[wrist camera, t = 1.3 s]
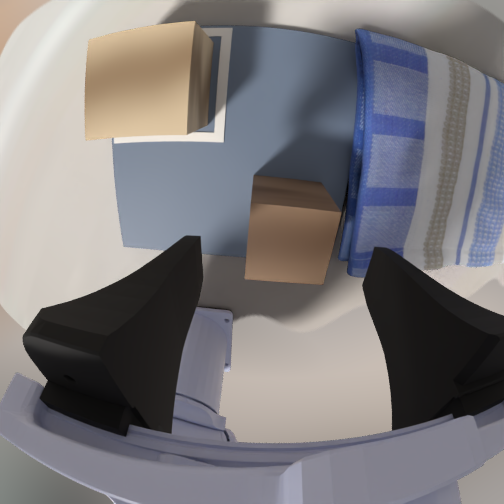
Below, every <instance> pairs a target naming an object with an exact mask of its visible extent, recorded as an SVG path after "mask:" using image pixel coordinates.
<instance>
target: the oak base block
mask: <svg viewBox="0 0 504 504" xmlns="http://www.w3.org/2000/svg"><path fill="white" fill-rule="evenodd" d="M213 45H214V42H213V41H212V40H211V39H210V38H209V36H208V35H207V34H206V33H205V32H204V31H203V30H202V28H201V27H200V26H199V25H198V24H197V23H196V22H195V21H188V22H176V23H167V24H160V25H153V26H147V27H141V28H135V29H130V30H126V31H121V32H117V33H112V34H108V35H105V36H101V37H97V38H94V39H90V40H89V42H88V51H87V62H86V77H85V138H86V141H87V140H96V139H106V138H117V137H132V136H154V135H188V134H190V133H192V132H194V131H197V130H199V129H201V128H203V127H205V126H207V125H208V110H209V94H210V80H211V67H212V56H213Z"/></svg>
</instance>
